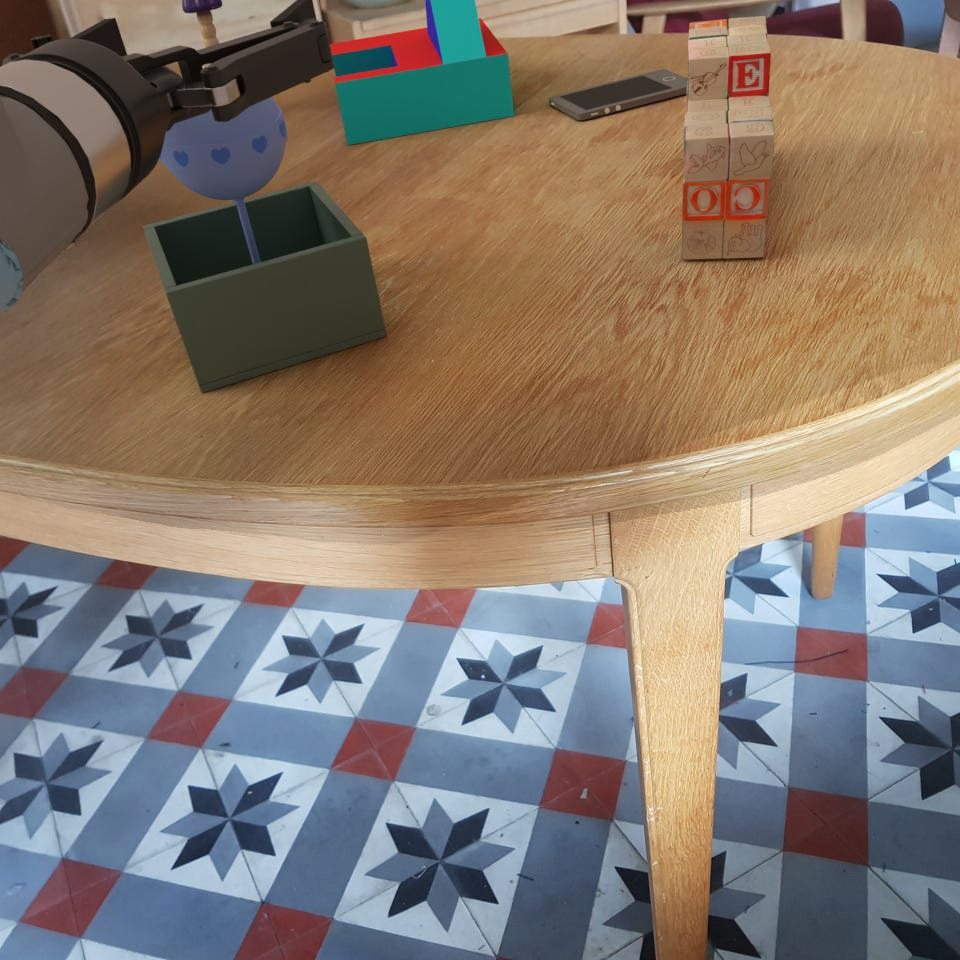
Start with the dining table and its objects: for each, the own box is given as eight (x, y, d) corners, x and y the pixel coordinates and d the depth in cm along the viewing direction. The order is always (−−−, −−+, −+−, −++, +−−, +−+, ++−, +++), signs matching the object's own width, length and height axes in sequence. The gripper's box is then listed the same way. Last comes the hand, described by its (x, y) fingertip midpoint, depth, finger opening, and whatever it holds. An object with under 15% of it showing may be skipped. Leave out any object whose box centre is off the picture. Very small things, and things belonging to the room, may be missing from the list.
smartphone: (579, 121, 101) (578, 114, 100) (547, 104, 107) (546, 97, 107) (701, 89, 104) (701, 83, 104) (663, 74, 110) (663, 68, 110)
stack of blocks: (766, 260, 70) (777, 88, 63) (680, 262, 72) (681, 94, 64) (758, 158, 87) (766, 12, 79) (688, 161, 88) (689, 18, 81)
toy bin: (174, 316, 75) (142, 225, 71) (336, 269, 79) (316, 180, 74) (201, 393, 65) (165, 293, 60) (387, 336, 68) (366, 237, 64)
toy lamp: (215, 116, 121) (174, -29, 111) (251, 109, 121) (213, -36, 111) (214, 126, 117) (171, -23, 107) (251, 120, 118) (211, -29, 108)
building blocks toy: (480, 63, 126) (461, -96, 115) (514, 115, 106) (495, -71, 95) (339, 87, 125) (307, -71, 114) (347, 145, 105) (309, -40, 94)
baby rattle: (348, 320, 70) (288, 63, 59) (237, 360, 67) (152, 98, 56) (306, 282, 76) (245, 42, 65) (203, 317, 73) (121, 73, 62)
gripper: (-126, 229, 50) (62, 105, 67) (324, 196, 46) (406, 72, 62) (-205, 81, 46) (17, -13, 62) (286, 30, 41) (385, -57, 58)
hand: (212, 29), depth 62 cm, fingers open, 13 cm apart
